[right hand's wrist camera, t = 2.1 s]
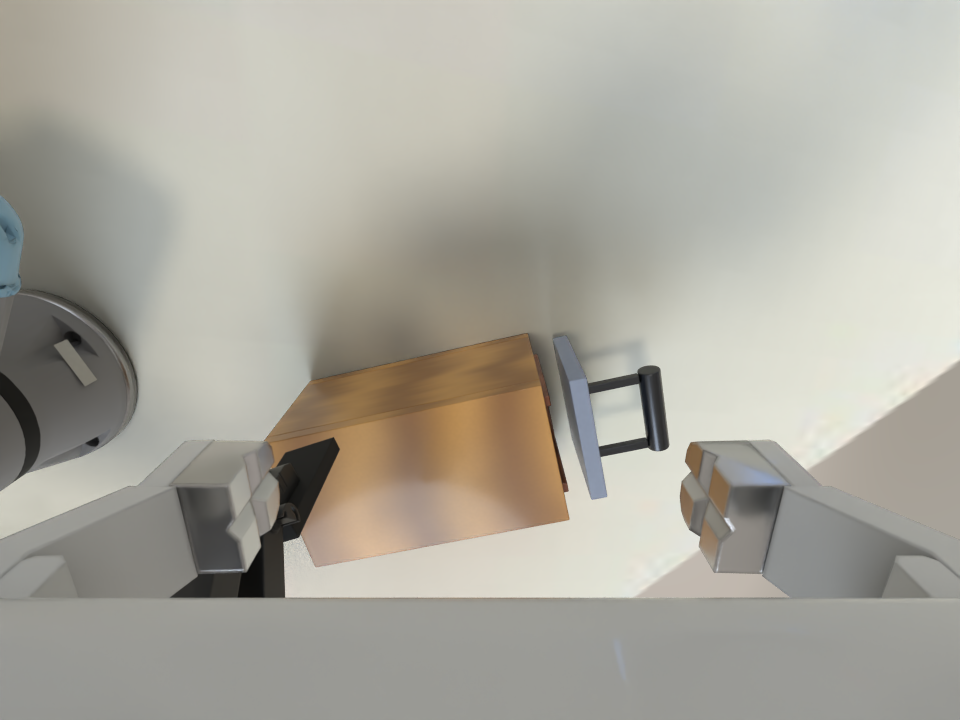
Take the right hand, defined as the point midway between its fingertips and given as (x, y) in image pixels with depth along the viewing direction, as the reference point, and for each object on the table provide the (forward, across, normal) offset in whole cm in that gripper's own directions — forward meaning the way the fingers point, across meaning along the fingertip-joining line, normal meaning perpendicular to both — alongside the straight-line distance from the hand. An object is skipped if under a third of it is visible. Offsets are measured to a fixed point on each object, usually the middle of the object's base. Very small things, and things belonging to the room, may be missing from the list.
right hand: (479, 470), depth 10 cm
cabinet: (+34, +4, +16) cm, 37 cm away
